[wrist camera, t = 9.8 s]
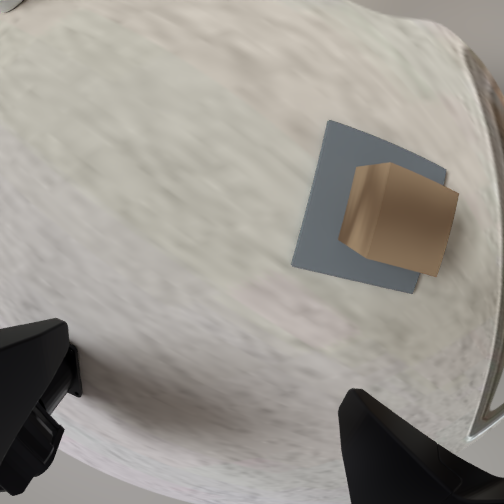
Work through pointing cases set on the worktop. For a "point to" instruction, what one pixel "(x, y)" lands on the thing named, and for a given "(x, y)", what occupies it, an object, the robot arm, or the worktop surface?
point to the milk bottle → (8, 5)
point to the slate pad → (335, 202)
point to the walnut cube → (398, 217)
